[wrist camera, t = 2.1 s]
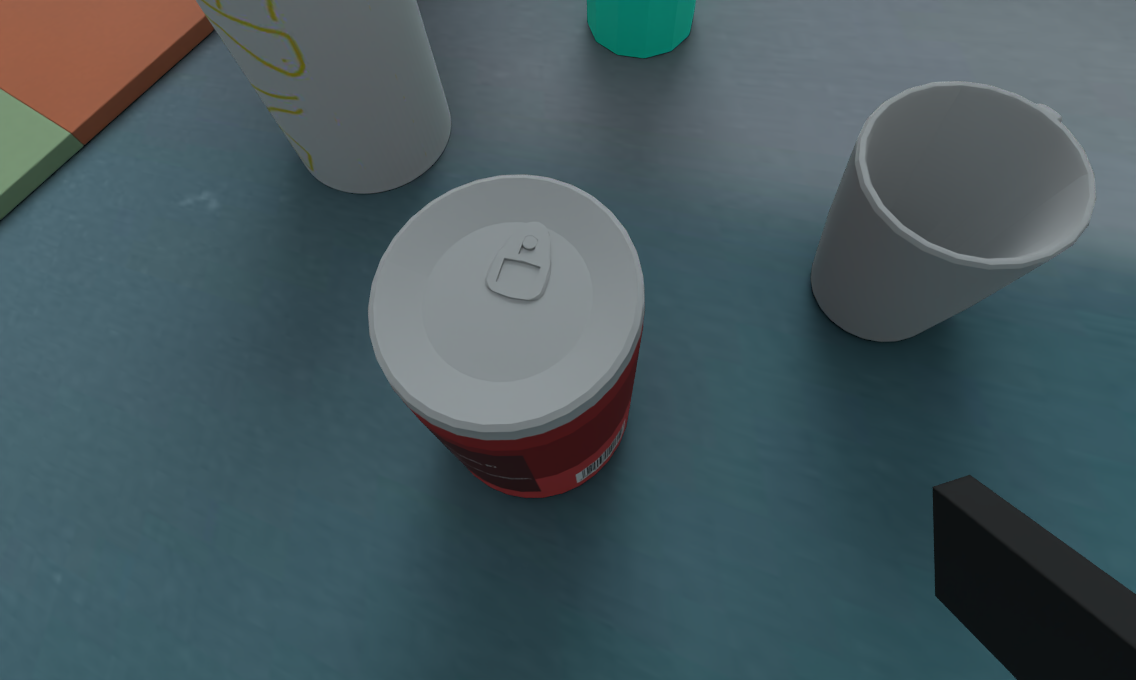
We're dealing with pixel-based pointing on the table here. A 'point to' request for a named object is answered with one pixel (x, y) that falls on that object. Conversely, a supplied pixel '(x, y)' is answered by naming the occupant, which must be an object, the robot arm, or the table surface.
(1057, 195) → the cup
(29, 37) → the board
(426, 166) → the yellow-scribbled white cylinder
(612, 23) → the candle
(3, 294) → the table surface
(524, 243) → the canned food
